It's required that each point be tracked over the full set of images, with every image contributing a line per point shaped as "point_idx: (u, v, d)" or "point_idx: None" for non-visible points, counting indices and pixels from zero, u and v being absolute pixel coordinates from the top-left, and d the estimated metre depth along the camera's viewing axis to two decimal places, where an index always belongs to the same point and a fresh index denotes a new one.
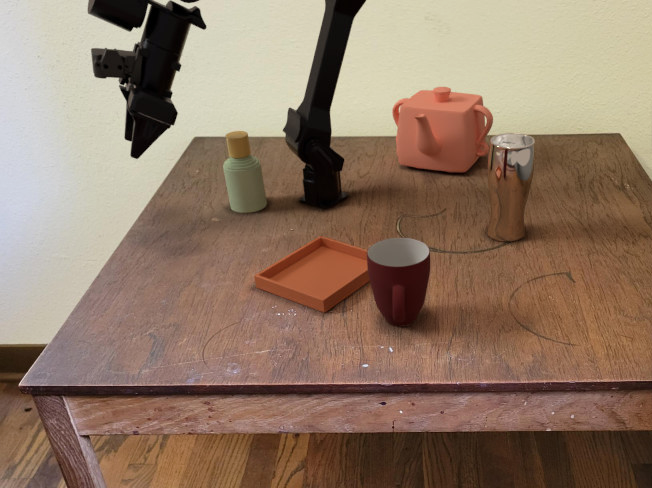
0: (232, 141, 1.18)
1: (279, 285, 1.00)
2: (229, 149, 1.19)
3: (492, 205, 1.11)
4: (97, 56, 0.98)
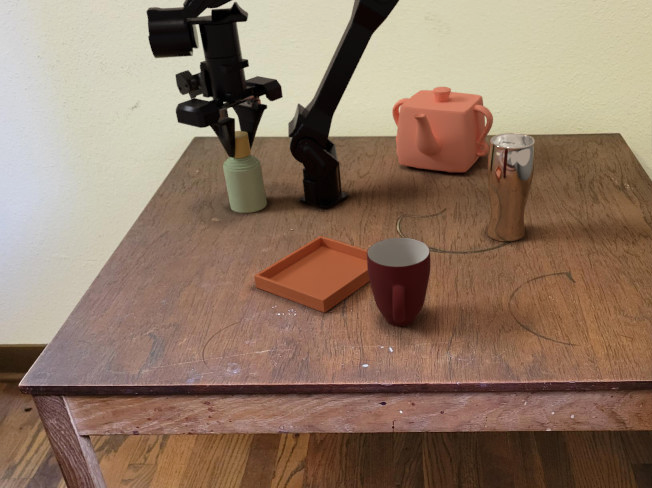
0: None
1: (279, 285, 1.00)
2: None
3: (492, 205, 1.11)
4: None
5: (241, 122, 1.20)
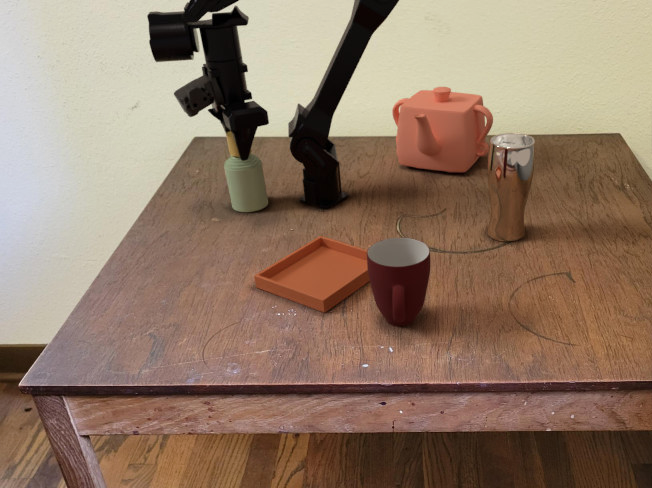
0: None
1: (279, 285, 1.00)
2: None
3: (492, 205, 1.11)
4: (184, 100, 1.09)
5: None
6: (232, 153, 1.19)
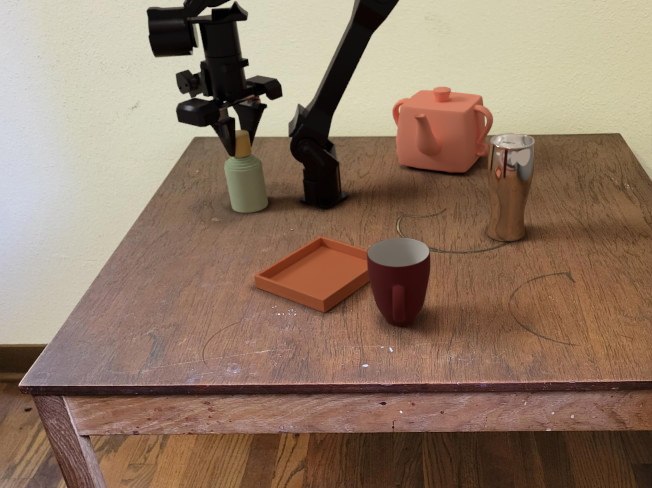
0: None
1: (279, 285, 1.00)
2: (249, 146, 1.20)
3: (492, 205, 1.11)
4: None
5: (241, 122, 1.20)
6: (243, 153, 1.19)
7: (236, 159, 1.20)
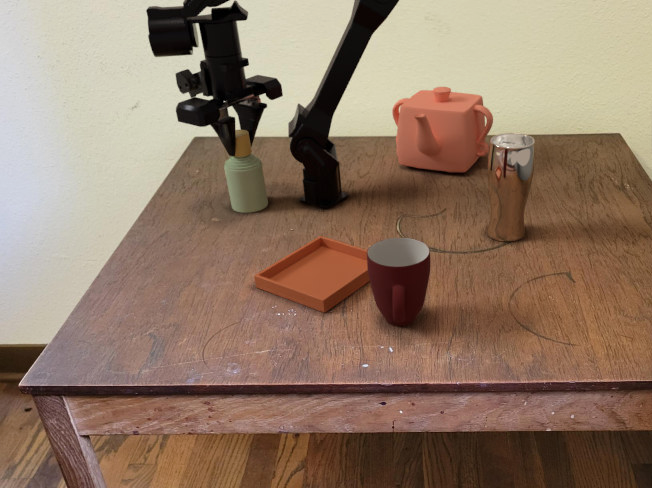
0: None
1: (279, 285, 1.00)
2: None
3: (492, 205, 1.11)
4: None
5: (241, 121, 1.19)
6: None
7: (236, 159, 1.20)
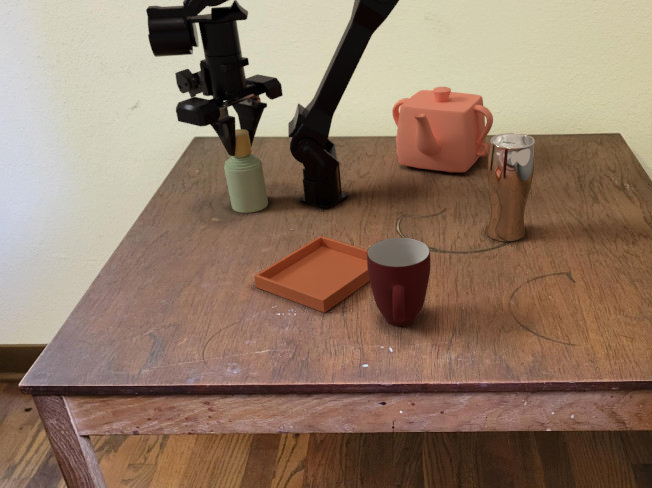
0: None
1: (279, 285, 1.00)
2: None
3: (492, 205, 1.11)
4: None
5: (241, 121, 1.19)
6: None
7: (236, 159, 1.20)
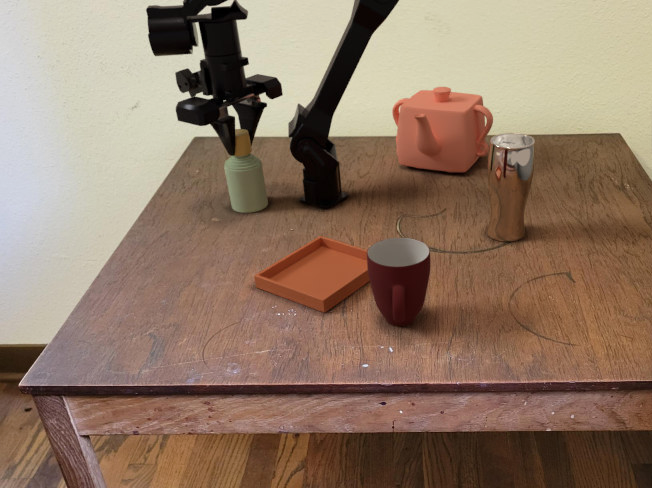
0: None
1: (279, 285, 1.00)
2: None
3: (492, 205, 1.11)
4: None
5: (241, 120, 1.19)
6: None
7: (236, 159, 1.20)
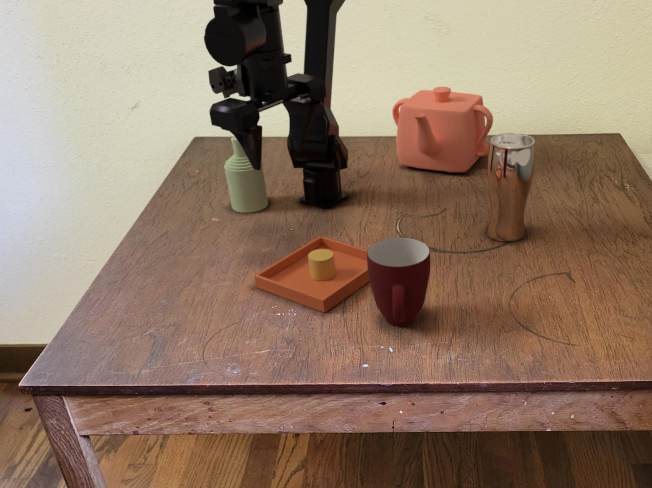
0: (309, 261, 1.03)
1: (279, 285, 1.00)
2: None
3: (492, 205, 1.11)
4: None
5: (292, 120, 1.08)
6: None
7: (236, 159, 1.20)
